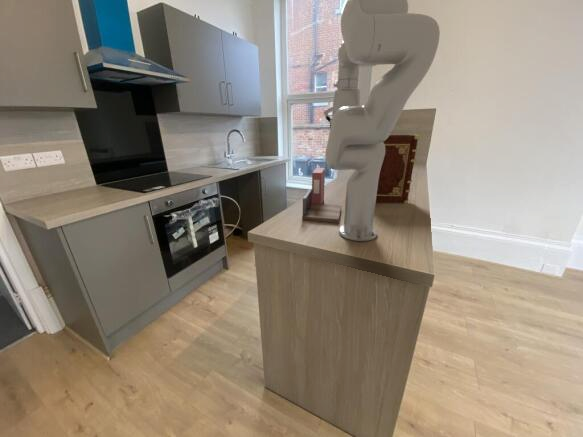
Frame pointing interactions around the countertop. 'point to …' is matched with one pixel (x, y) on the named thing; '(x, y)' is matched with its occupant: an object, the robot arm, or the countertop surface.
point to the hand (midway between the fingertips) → (344, 133)
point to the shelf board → (323, 214)
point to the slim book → (318, 185)
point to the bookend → (307, 202)
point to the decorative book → (397, 169)
